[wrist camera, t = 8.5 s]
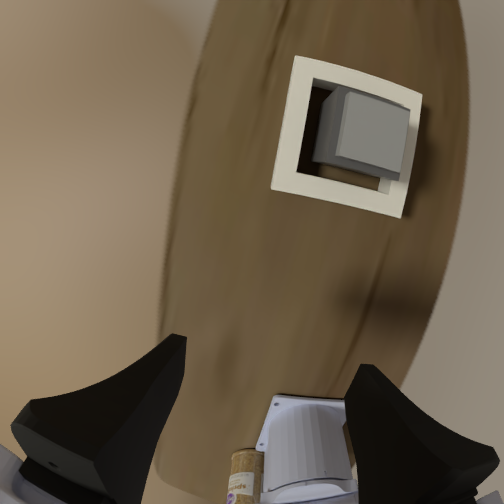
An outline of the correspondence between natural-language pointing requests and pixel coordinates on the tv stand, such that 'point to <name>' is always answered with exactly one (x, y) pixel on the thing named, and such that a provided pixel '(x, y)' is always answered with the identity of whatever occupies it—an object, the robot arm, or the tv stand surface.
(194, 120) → the tv stand surface
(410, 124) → the socket block
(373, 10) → the tv stand surface
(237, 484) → the sprinkles bottle
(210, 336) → the tv stand surface
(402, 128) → the stepped grey plug block
